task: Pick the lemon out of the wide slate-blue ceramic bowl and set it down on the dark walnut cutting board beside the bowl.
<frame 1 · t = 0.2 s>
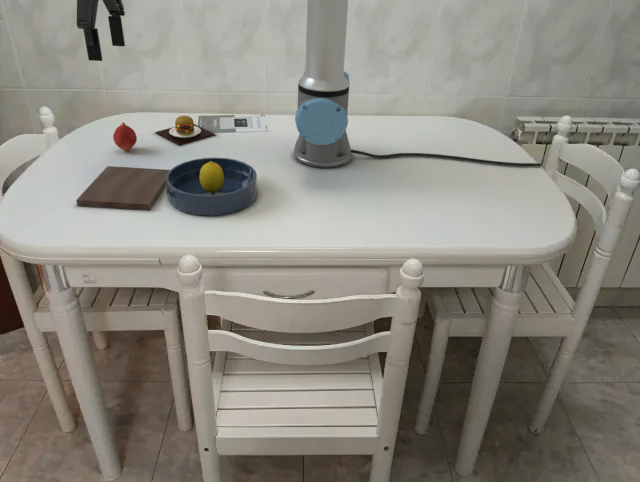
hand: (107, 52, 126), 28 cm above the table, tool pointing down, fingers open, 13 cm apart
lemon: (213, 194, 129), resting on bowl
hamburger: (185, 135, 160), on the table
board: (127, 189, 130), on the table
bowl: (213, 195, 129), on the table
onion: (127, 151, 149), on the table
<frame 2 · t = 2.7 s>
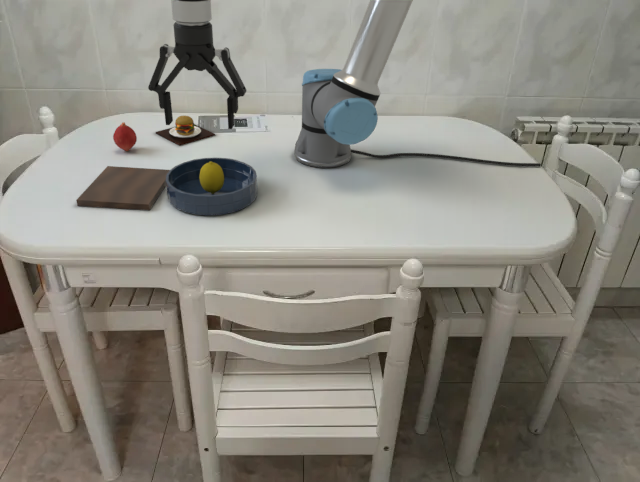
hand: (200, 125, 121), 16 cm above the table, tool pointing down, fingers open, 13 cm apart
nothing on the table moved.
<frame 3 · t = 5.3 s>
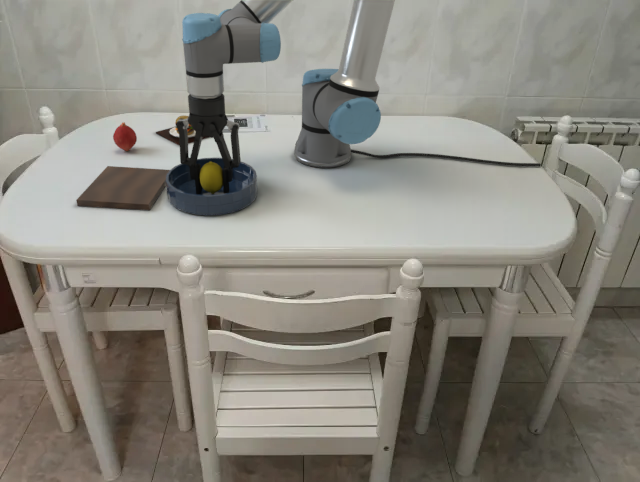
hand: (212, 192, 129), 1 cm above the table, tool pointing down, fingers closed on bowl, 6 cm apart
nothing on the table moved.
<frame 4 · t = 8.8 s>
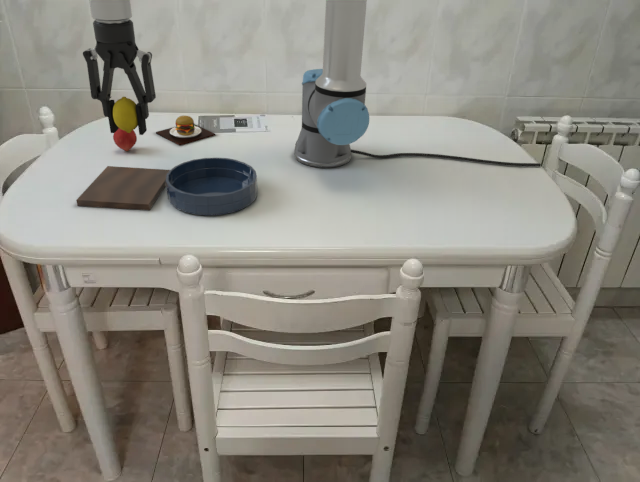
hand: (128, 131, 122), 14 cm above the table, tool pointing down, fingers closed on lemon, 6 cm apart
lemon: (129, 133, 122), point 14 cm above the table, touching gripper
everything else where it was.
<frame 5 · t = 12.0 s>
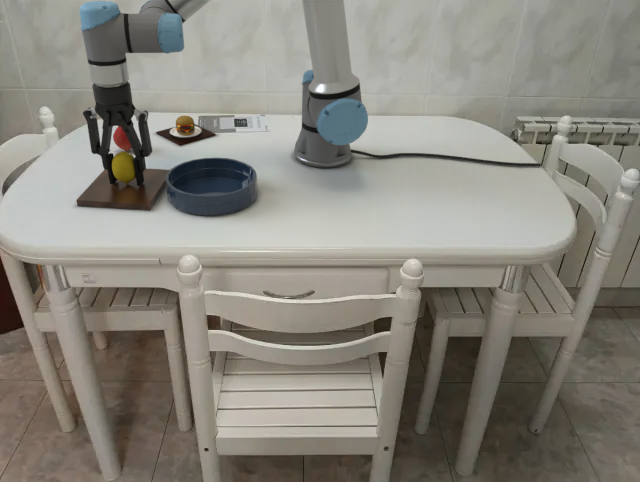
hand: (127, 182, 129), 2 cm above the table, tool pointing down, fingers closed on lemon, 6 cm apart
lemon: (127, 184, 129), point 1 cm above the table, touching gripper
everything else where it was.
when the fingers open (2 cm above the table, at t = 15.6 s): lemon stays where it is, resting on board.
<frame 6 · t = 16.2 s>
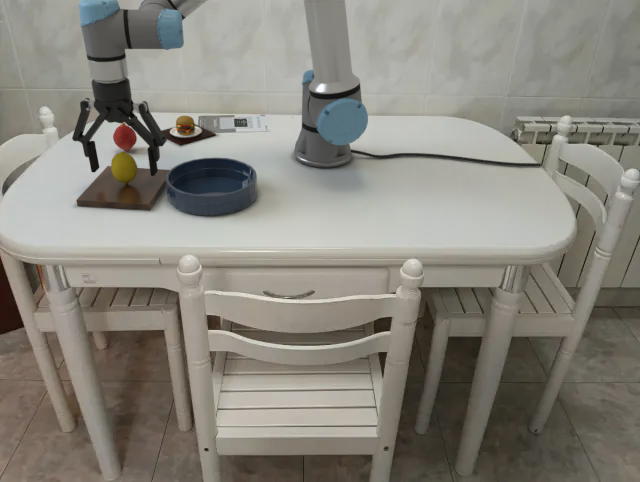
hand: (124, 171, 127), 5 cm above the table, tool pointing down, fingers open, 13 cm apart
lemon: (126, 184, 129), point 1 cm above the table, touching board
everything else where it was.
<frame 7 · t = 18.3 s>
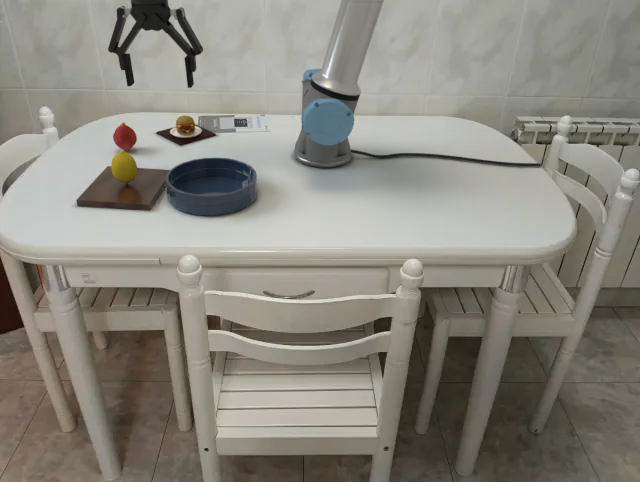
hand: (160, 85, 126), 22 cm above the table, tool pointing down, fingers open, 13 cm apart
nothing on the table moved.
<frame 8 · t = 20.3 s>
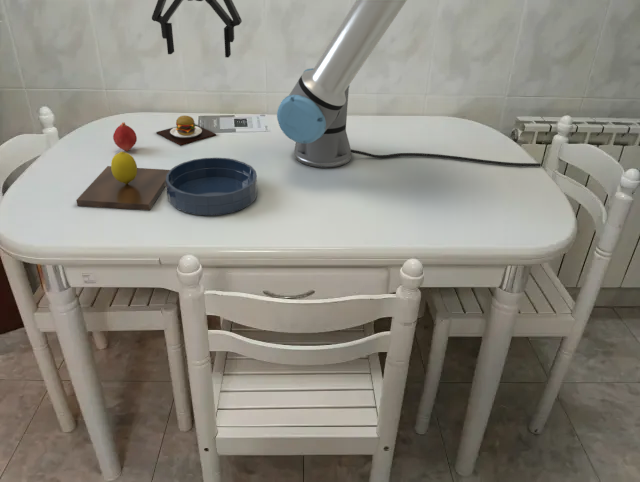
hand: (199, 54, 132), 27 cm above the table, tool pointing down, fingers open, 13 cm apart
nothing on the table moved.
at the end: lemon inside the target area on the board (0.0 cm from its centre), point 1.3 cm above the board's base; lemon touching board; the gripper is holding nothing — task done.
